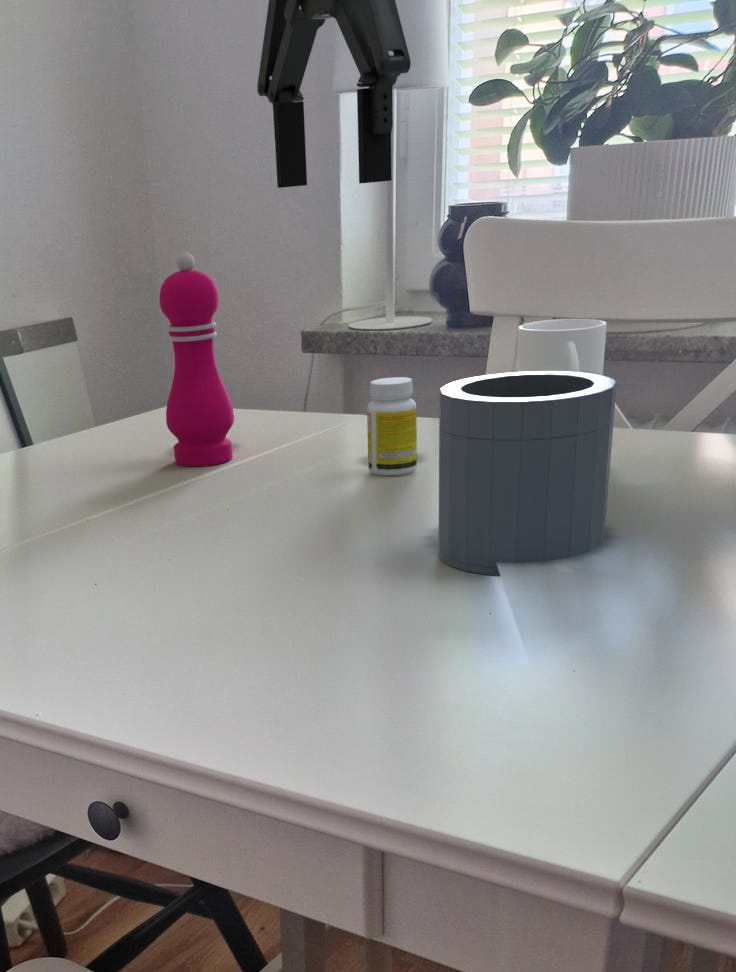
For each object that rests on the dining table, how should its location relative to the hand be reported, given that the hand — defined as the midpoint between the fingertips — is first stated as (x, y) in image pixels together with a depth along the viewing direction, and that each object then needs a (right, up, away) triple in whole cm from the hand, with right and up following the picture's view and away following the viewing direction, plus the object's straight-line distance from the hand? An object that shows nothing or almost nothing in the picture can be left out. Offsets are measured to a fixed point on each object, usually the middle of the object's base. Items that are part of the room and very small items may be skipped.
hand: (331, 185), depth 101 cm
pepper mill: (-12, -16, +24) cm, 32 cm away
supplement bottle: (+7, -21, +14) cm, 26 cm away
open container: (+14, -35, -12) cm, 40 cm away
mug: (+23, -20, +13) cm, 33 cm away
